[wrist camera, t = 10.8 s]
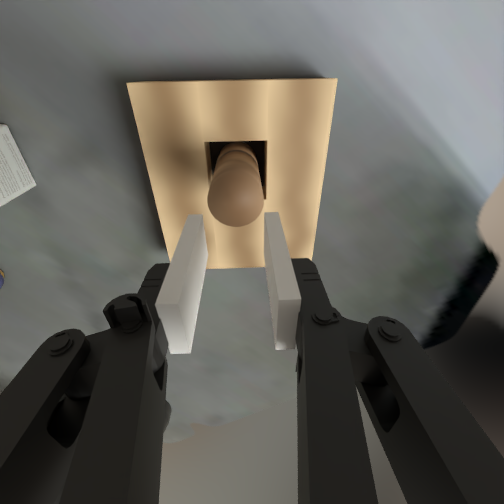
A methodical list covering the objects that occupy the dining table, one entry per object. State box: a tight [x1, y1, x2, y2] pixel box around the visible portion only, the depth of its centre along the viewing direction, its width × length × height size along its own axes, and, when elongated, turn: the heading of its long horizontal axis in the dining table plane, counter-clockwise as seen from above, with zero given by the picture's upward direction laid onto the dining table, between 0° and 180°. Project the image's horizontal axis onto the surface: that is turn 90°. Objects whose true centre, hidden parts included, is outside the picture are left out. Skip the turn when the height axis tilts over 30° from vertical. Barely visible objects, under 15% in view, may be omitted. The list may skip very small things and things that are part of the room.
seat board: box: [127, 78, 337, 269], centre depth 26 cm, size 16×18×4 cm
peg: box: [207, 141, 264, 227], centre depth 22 cm, size 4×4×10 cm
